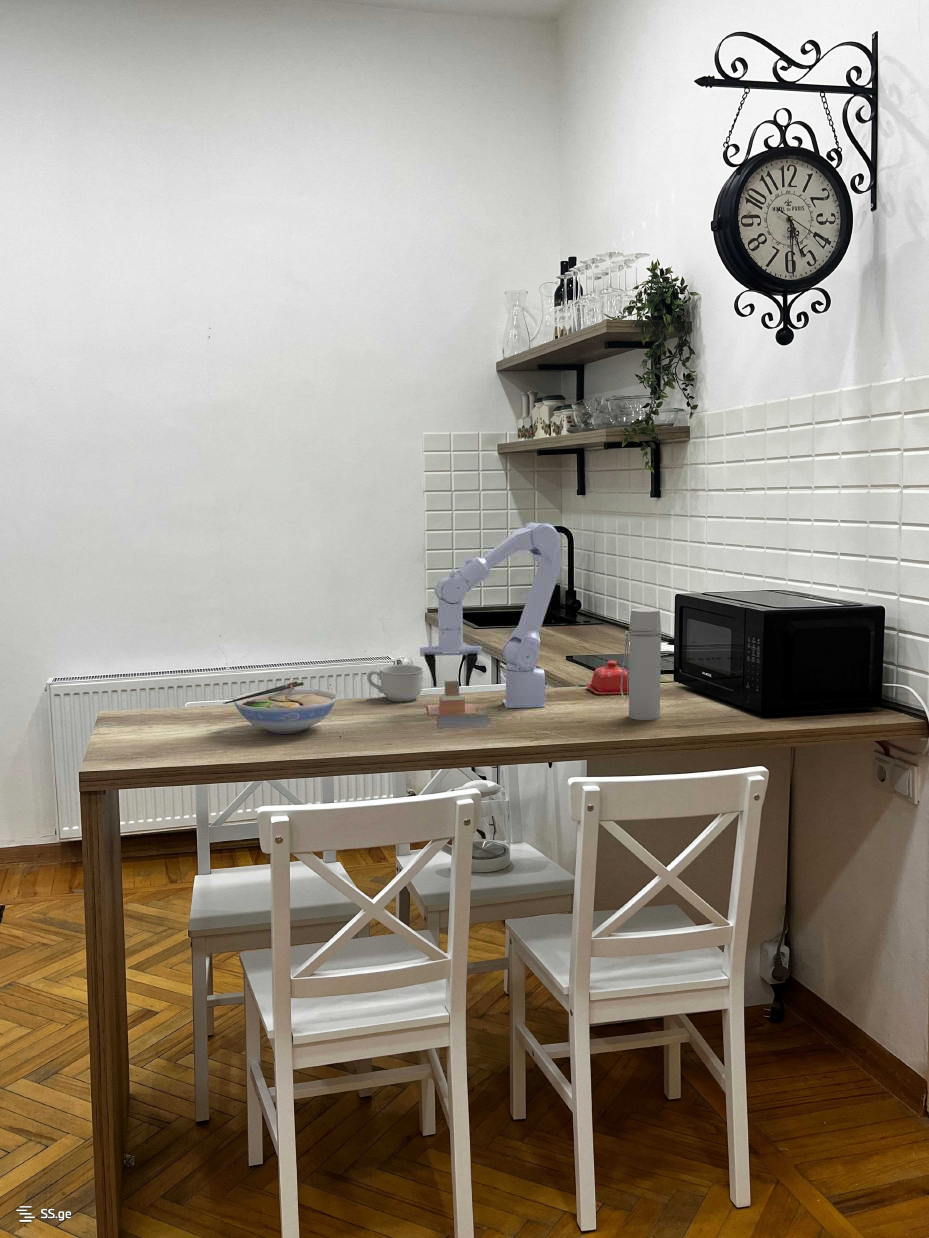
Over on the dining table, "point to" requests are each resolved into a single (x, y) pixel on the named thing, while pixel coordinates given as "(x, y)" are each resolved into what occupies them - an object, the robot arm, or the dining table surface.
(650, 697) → the water bottle
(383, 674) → the teacup
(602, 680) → the butter dish
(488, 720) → the mat
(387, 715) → the dining table surface
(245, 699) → the ramen bowl
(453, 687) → the lid
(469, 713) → the salmon stepped square block
